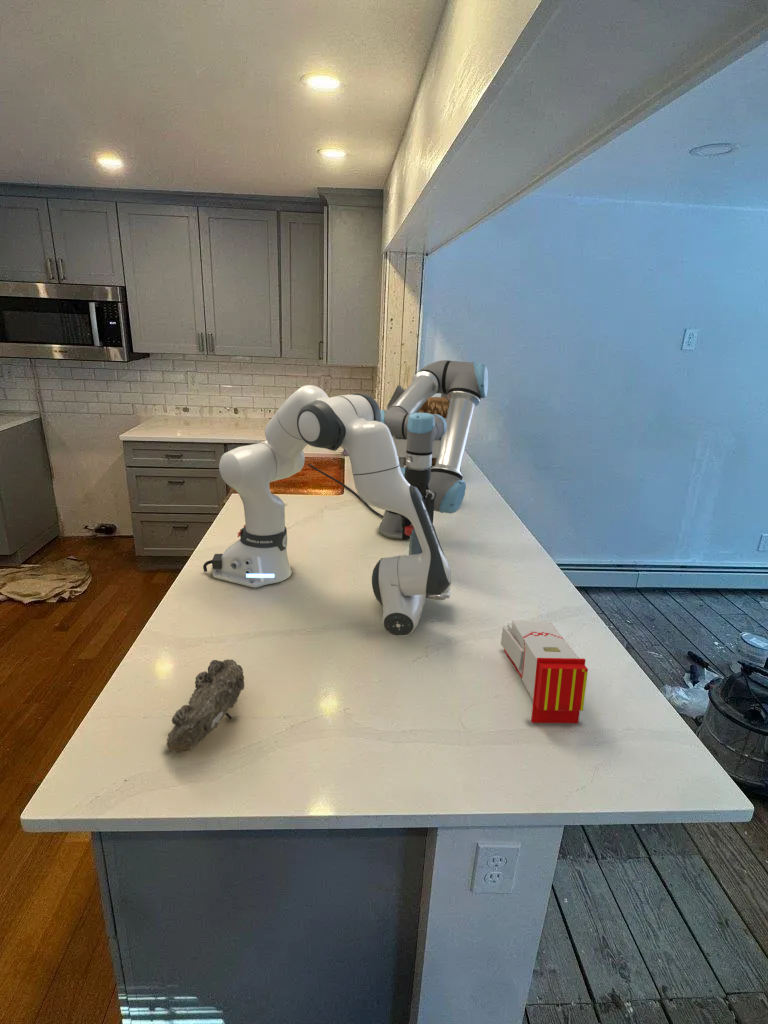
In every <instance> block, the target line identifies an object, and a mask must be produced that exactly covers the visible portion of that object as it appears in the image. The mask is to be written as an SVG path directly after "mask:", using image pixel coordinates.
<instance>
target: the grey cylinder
mask: <svg viewBox="0 0 768 1024" xmlns="http://www.w3.org/2000/svg"><path fill="white" fill-rule="evenodd" d="M408 543H409V544H408V555H414V554H421V553H423V551H422V548H421V545H420V543H419V540H418V537H417V535H416V532H415V529H413V530H412V534H410V540H409V542H408Z"/></svg>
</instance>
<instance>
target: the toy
mask: <svg viewBox="0 0 768 1024" xmlns="http://www.w3.org/2000/svg"><path fill="white" fill-rule="evenodd" d="M500 645H501V646H502V648H503V652H504V654H505V655H506V657H507V658H508V660H509V661H510V663H511V664H512V666H513V668H514V669H515V671H516V672H517V674H518V676H519V677H520V679H521V680H522V683H523V685H524V686H525V688H526V690H527V692H528V694H529V696H530V697H531V699H532V708H531V719H530V722H531V723H532V724H579V719H580V712H583V711H584V706H585V697H586V689H587V680H588V671H589V669H588V667H587V666H586V659H585V658H580V657H579V656H578V655H577V654H576V652H575V651H574V650H573V648H572V647H571V646H570V645H569V644H568V642H567V641H566V640H565V638H564V637H563V636H562V634H561V633H560V632H559V631H558V630H557V628H556V627H555V626H554V624H553V623H552V622H551V621H549V620H548V621H545V620H540V621H539V620H511V622H508V623H507V626H502V632H501V638H500Z"/></svg>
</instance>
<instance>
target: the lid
mask: <svg viewBox="0 0 768 1024" xmlns="http://www.w3.org/2000/svg"><path fill="white" fill-rule="evenodd" d="M413 529H414V526H413V525H408V526H406V527H405V534H406V535H407V536H410V534H412V530H413Z"/></svg>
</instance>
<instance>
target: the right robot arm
mask: <svg viewBox="0 0 768 1024" xmlns="http://www.w3.org/2000/svg"><path fill="white" fill-rule="evenodd" d="M404 390H405V391H404V393H403V394H402V395H401V396H400V397H399V398H398V399H397V400H396V402H395V403H394V404H393V405H392V406H391V407H390V408H389V409H388V410H387V409H386V410H385V409H380V412H381V420H380V422H382V423H384V424H385V425H386V426H387V427H388V428H389V430H390V433H391V435H392V436H393V437H402V438H407V447H406V464H405V465H404V467H403V468H401V471H402V474H403V476H404V478H405V479H406V481H407V482H408V483H409V484H410V485H412V486H414V487H417V489H418V490H419V492H420V493H421V495H422V497H423V500H424V502H425V504H426V507H427V510H428V512H429V515H430V517H431V520H432V523H433V524H434V514H435V513H434V512H438V513H441V514H443V513H445V514H454V513H456V512H457V511H458V510H459V509H460V507H461V505H462V503H463V501H464V497H465V494H466V489H467V483H466V481H465V480H463V479H464V478H463V477H464V476H463V474H462V473H461V472H462V471H461V472H460V467H461V468H462V462H463V459H464V453H465V449H466V444H467V441H468V437H469V436H468V435H469V433H470V427H471V424H472V419H473V415H474V409H475V407H478V405H480V403H481V399H485V398H487V395H488V391H489V371H488V367H487V365H486V364H484V363H481V362H475V361H473V362H470V361H460V360H459V361H458V360H448V359H443V360H442V359H441V360H437V361H434V362H432V363H430V364H428V365H425V366H424V367H422V368H421V369H420V370H418V371H417V372H416V373H415V375H414V376H413V377H412V381H411V383H410V385H408V387H407V388H406V389H404ZM436 394H440V395H441V394H447V398H448V400H449V401H450V404H449V408H448V413H447V417H446V421H445V419H444V418H443V417H442V416H440V415H438V414H429V413H417V411H418V410H419V409H420V408H421V406H422V405H423V404H424V403H425V401H426V400H427V399H428V398H429V397H434V396H435V395H436ZM441 437H442V438H441ZM440 438H441V442H440V447H439V451H438V455H437V459H436V464H435V466H432V465H431V463H432V449H433V442H434V441H436V440H438V439H440ZM307 466H309V467H310V468H312V469H313V470H314V471H317V472H318V473H320V474H321V475H324V476H325V477H327V478H329V479H330V480H332V481H334V482H336V483H338V484H339V485H340V486H342V487H344V488H345V489H346V490H348V491H349V492H351V493H352V494H353V495H354V496H356V497H357V498H358V499H359V500H360V502H362V504H364V505H365V507H367V508H368V509H369V511H371V512H372V513H374V515H376V516H378V517H380V518H381V522H379V526H378V533H379V534H380V535H381V536H382V537H385V538H387V539H389V540H395V541H410V536H407V535H406V534H405V527H406V526H408V525H413V524H412V523H411V521H410V520H409V519H408V518H407V517H405V516H403V515H401V514H398V513H395V512H392V511H388V510H384V513H383V515H382V514H381V513H379V512H378V511H376V510H375V509H374V508H373V507H372V506H371V505H369V504H368V503H366V502H365V501H363V500H362V499H361V497H360V496H359V495H358V493H357V492H356V491H354V490H353V489H352V488H350V487H349V486H348V485H346V484H344V482H341V481H340V480H338V479H336V478H335V477H333V476H331V475H329V474H328V473H326V472H324V471H322V470H320V469H318V468H317V467H315V466H313V465H312V464H310V463H308V464H307Z"/></svg>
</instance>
